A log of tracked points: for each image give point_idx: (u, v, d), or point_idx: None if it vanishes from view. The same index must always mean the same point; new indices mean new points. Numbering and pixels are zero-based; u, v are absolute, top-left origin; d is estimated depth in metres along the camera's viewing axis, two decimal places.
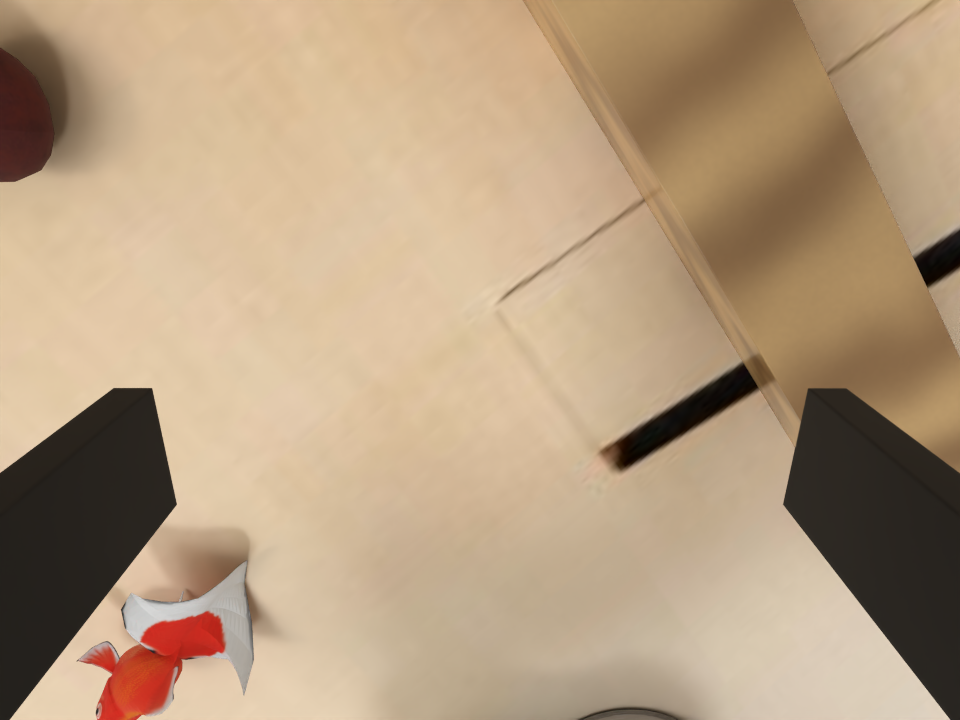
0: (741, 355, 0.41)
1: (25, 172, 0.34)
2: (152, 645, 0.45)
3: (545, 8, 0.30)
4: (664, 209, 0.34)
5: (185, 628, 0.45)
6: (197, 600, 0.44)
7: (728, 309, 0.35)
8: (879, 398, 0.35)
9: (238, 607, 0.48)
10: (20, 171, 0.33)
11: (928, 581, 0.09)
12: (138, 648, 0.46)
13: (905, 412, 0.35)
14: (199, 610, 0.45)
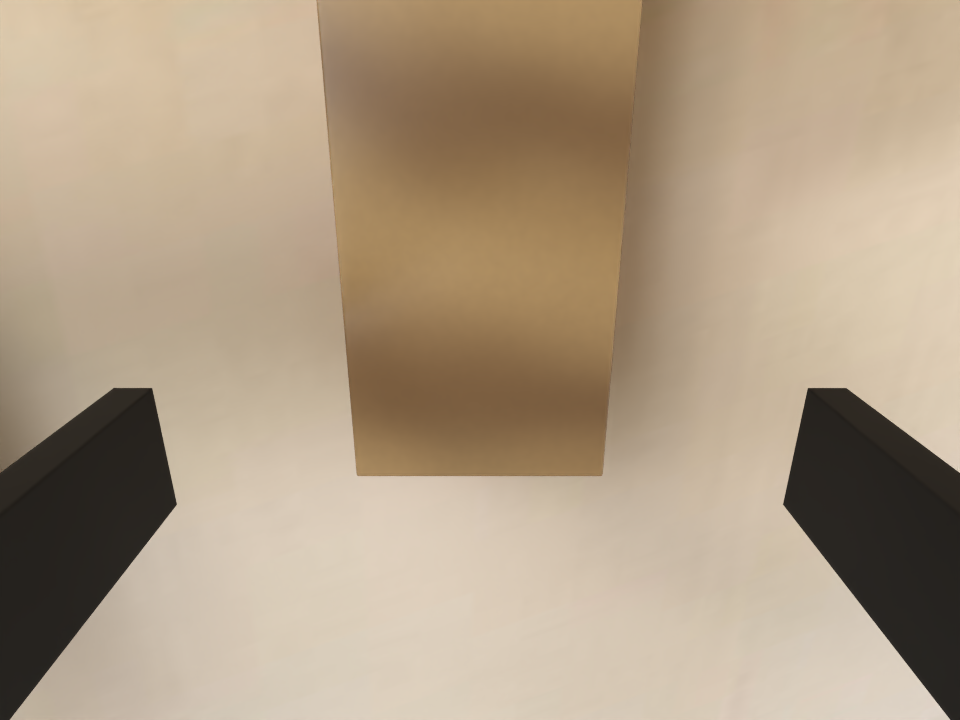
0: None
1: None
2: None
3: None
4: None
5: None
6: None
7: None
8: None
9: None
10: None
11: (928, 582, 0.09)
12: None
13: None
14: None
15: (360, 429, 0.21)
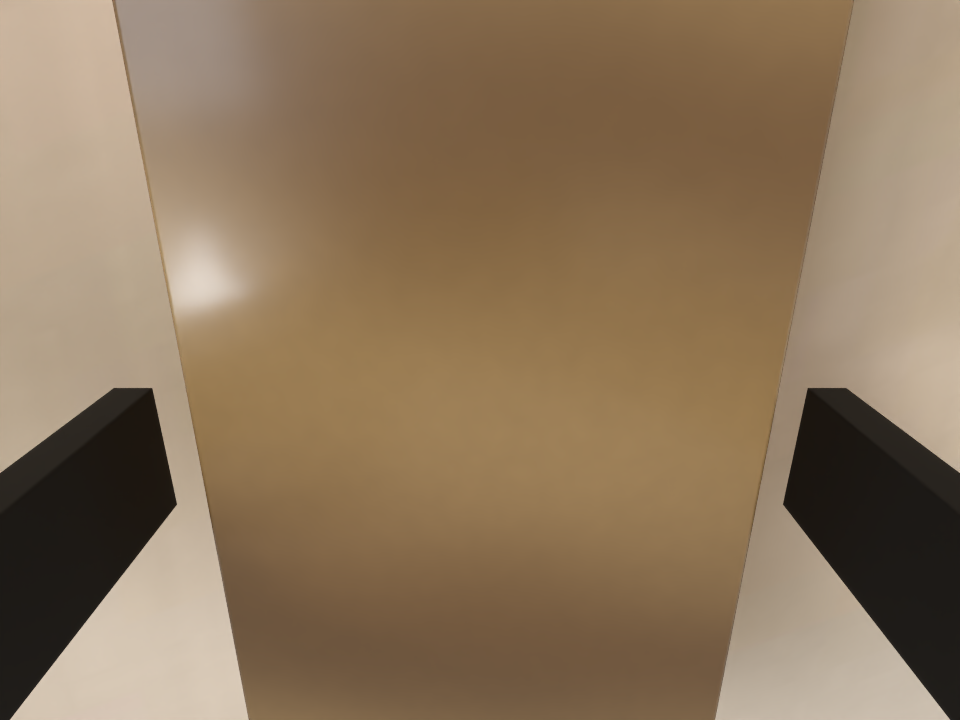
0: None
1: None
2: None
3: None
4: None
5: None
6: None
7: None
8: None
9: None
10: None
11: (928, 581, 0.09)
12: None
13: None
14: None
15: (256, 698, 0.12)
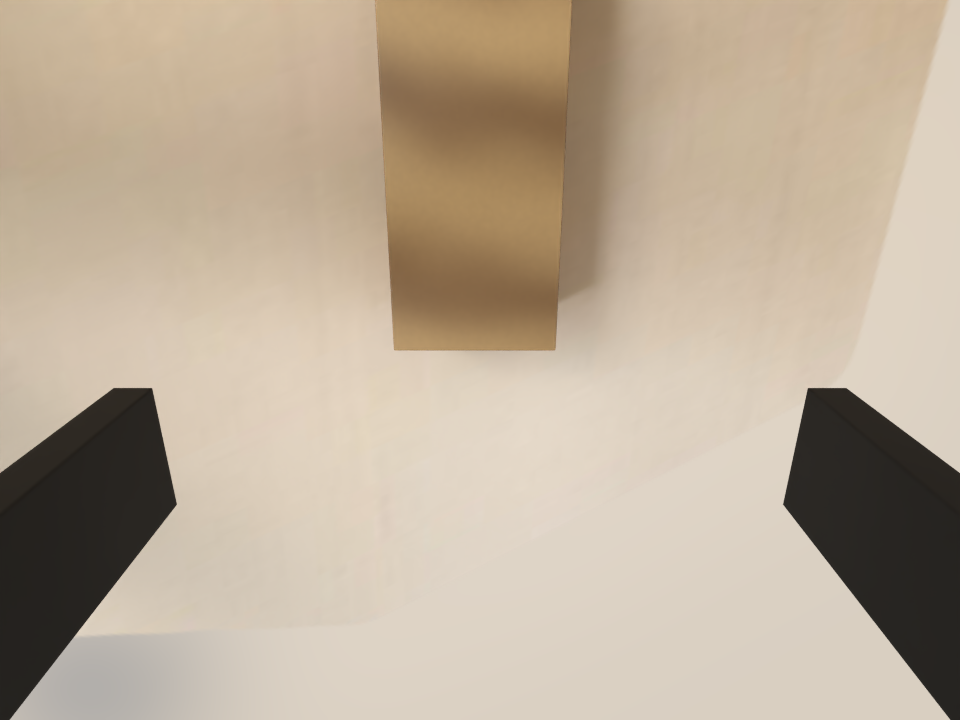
0: None
1: None
2: None
3: None
4: None
5: None
6: None
7: None
8: None
9: None
10: None
11: (928, 581, 0.09)
12: None
13: (488, 7, 0.28)
14: None
15: (396, 317, 0.33)
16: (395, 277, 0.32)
